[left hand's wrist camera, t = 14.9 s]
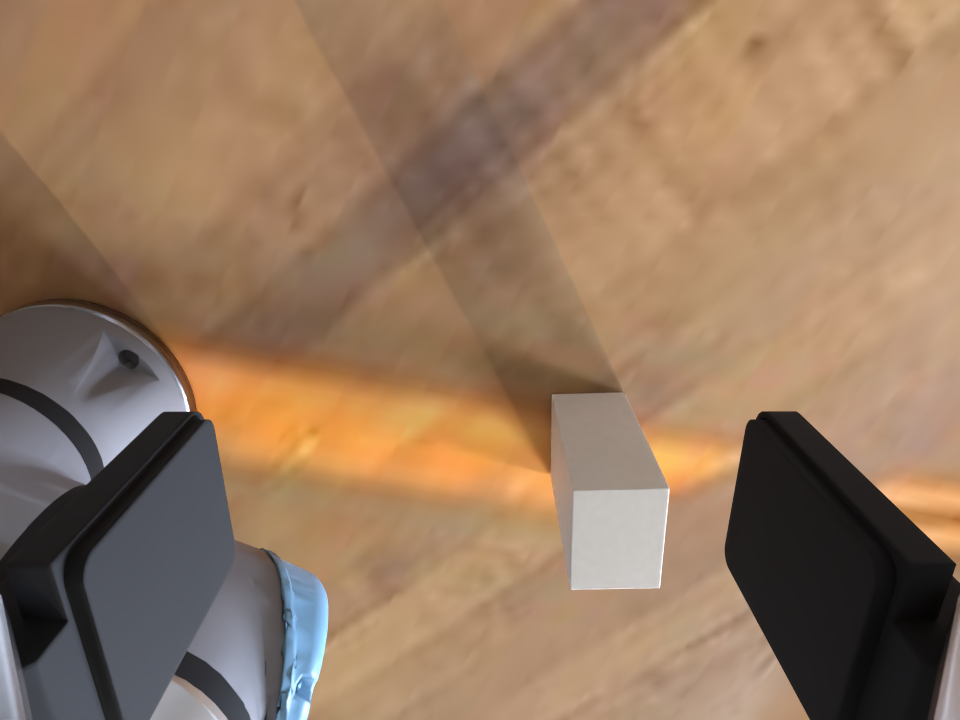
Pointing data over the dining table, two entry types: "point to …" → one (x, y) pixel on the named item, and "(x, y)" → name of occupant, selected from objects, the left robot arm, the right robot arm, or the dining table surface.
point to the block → (606, 493)
